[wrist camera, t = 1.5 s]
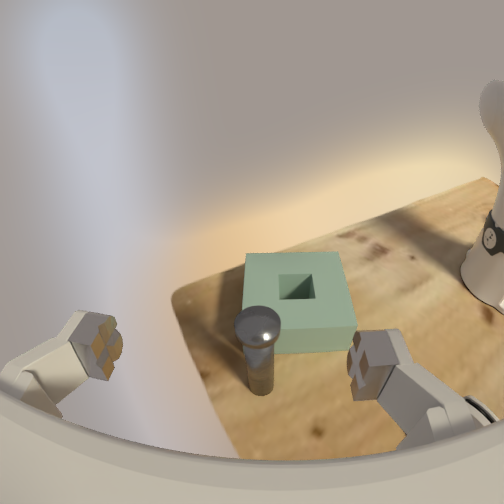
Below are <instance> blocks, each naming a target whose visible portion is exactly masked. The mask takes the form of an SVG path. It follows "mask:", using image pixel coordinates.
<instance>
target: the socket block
mask: <svg viewBox="0 0 504 504" xmlns="http://www.w3.org/2000/svg"><path fill="white" fill-rule="evenodd" d="M257 305H260V306H266V307H269V308H271V309H273V310H274V311H275V312H276V313H277V314H278V315H279V317H280V320H281V333H280V336H279V338H278V340H277V341H276V342H275V343H274V354H290V353H314V352H331V351H344V350H349V348H350V345H351V343H352V340H353V336H354V333H355V332H356V329H357V326H358V325H357V321H356V316H355V312H354V308H353V304H352V301H351V297H350V293H349V289H348V285H347V282H346V278H345V274H344V271H343V267H342V264H341V260H340V257H339V253H338V252H296V253H250V254H249V253H247V254H246V261H245V275H244V289H243V304H242V310H244V309H245V308H247V307H250V306H257ZM243 350H244V346H243ZM244 354H245V353H244Z"/></svg>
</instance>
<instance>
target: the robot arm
mask: <svg viewBox="0 0 504 504" xmlns="http://www.w3.org/2000/svg"><path fill="white" fill-rule="evenodd" d="M479 108H480V115H481V119H482V122H483V124H484V126H485V128H486V130H487V131H488V132H489V134H490V135H491V137H492V138H493V140H494V142H495V144H496V147H497V149H498V152H499V155H500V160H501V180H500V185H499V189H498V193H497V197H496V200H495V203H494V206H493V209H492V210H490V212H489V214H488V216H487V218H486V222H485V224H484V228H483V229H482V230H481V232H480V234H479V236H478V238H477V239H476V241H475V243H474V245H473V247H472V249H469V250H468V251H467V253H466V259H465V261H464V262H463V263H462V265H461V276H462V279H463V281H464V283H465V285H466V286H467V287H468V289H469V290H470V291H471V292H472V293H473V294H474V295H475V296H476V297H477V298H479V299H480V300H482V301H483V302H485V303H487V304H489V305H491V306H494V307H495V308H496V309H497V310H499V311H500V312H501V313H502V314H504V81H499V80H493V81H491V82H490V83H488V84H487V85H486V86H485V88H484V89H483V91H482V94H481V97H480V104H479ZM116 326H117V323H116V320H115V317H113V316H110V315H104V314H99V313H94V312H87V311H81V310H78V311H75V313H74V314H73V315H72V317H71V318H70V319H69V321H68V322H67V323H66V325H65V326H64V327H63V329H62V330H61V332H60V333H59V334H58V336H57V337H56V338H51V339H49V340H47V341H46V342H44V343H42V344H40V345H38V346H37V347H35V348H33V349H31V350H29V351H28V352H26V353H24V354H22V355H20V356H19V357H17V358H15V359H13V360H12V361H10V362H8V363H7V364H6V366H5V367H4V369H3V370H2V372H1V373H0V504H504V419H502V420H499V421H497V422H494V423H492V424H489V425H486V426H484V427H481V428H478V429H476V426H475V424H474V421H473V418H472V416H471V413H470V411H469V408H468V406H467V403H466V401H465V399H464V398H462V397H461V396H460V395H458V394H457V393H456V392H455V391H453V390H452V389H451V388H449V387H448V386H447V385H446V384H444V383H443V382H442V381H440V380H439V379H438V378H437V377H435V376H434V375H433V374H431V373H430V372H429V371H427V370H426V369H425V368H424V367H422V366H421V365H420V364H418V363H414V362H413V360H412V357H411V355H410V352H409V350H408V348H407V345H406V343H405V341H404V339H403V336H402V334H401V332H400V330H399V329H384V330H359V331H356V332H355V333H354V336H353V343H354V345H353V346H352V347H351V348H350V349H349V352H348V355H347V371H348V375H349V376H350V377H351V378H352V379H353V380H352V382H351V385H350V386H351V391H352V396H353V401H363V400H377V402H378V403H379V404H380V405H381V406H382V407H383V408H384V409H385V411H386V412H387V413H388V414H389V415H390V416H391V417H392V419H393V420H394V421H395V422H396V423H397V424H398V425H399V426H400V428H401V429H402V430H403V431H404V432H405V433H406V434H407V436H406V437H405V438H404V439H403V440H402V441H401V442H400V443H399V445H398V446H397V447H396V451H390V452H384V453H378V454H371V455H364V456H356V457H346V458H335V459H321V460H251V459H236V458H225V457H215V456H207V455H199V454H192V453H186V452H180V451H174V450H169V449H164V448H159V447H154V446H149V445H145V444H141V443H137V442H132V441H129V440H125V439H121V438H118V437H114V436H111V435H107V434H104V433H100V432H97V431H94V430H91V429H88V428H85V427H82V426H80V425H77V424H74V423H71V422H69V421H66V420H63V419H62V417H63V416H62V413H61V412H60V411H59V410H58V408H57V407H56V406H55V405H56V404H57V403H59V402H60V401H61V400H62V399H63V398H65V397H66V396H67V395H68V394H70V393H71V392H72V391H73V390H75V389H76V388H77V387H78V386H79V385H81V384H82V383H83V382H84V381H85V380H87V379H88V378H89V377H92V378H96V379H100V380H105V381H108V380H109V378H110V376H111V374H112V372H113V370H114V368H115V367H114V364H113V362H114V361H116V360H117V359H119V357H120V355H121V353H122V347H123V342H122V337H121V334H120V333H119V332H118V331H117V330H116V329H115V328H116Z"/></svg>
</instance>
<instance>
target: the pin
mask: <svg viewBox="0 0 504 504" xmlns="http://www.w3.org/2000/svg"><path fill="white" fill-rule="evenodd" d="M234 327H235V333H236V337H237V339H238V341H239V342H240V343H241V344H242V345H243V346H244V353H245V360H246V367H247V374H248V381H249V388H250V390H251V392H252V393H253V394H255V395H258V396H265V395H267V394H269V393H270V392H271V391H272V390H273V386H274V343H275V342H276V341H277V340H278V338H279V336H280V333H281V320H280V317H279V315H278V314H277V313H276V312H275V311H274V310H273V309H271V308H269V307H266V306H260V305H257V306H250V307H247V308H245V309H244V310H242V311H241V312H240V313H239V314H238V315H237V316H236V318H235V322H234Z"/></svg>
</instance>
